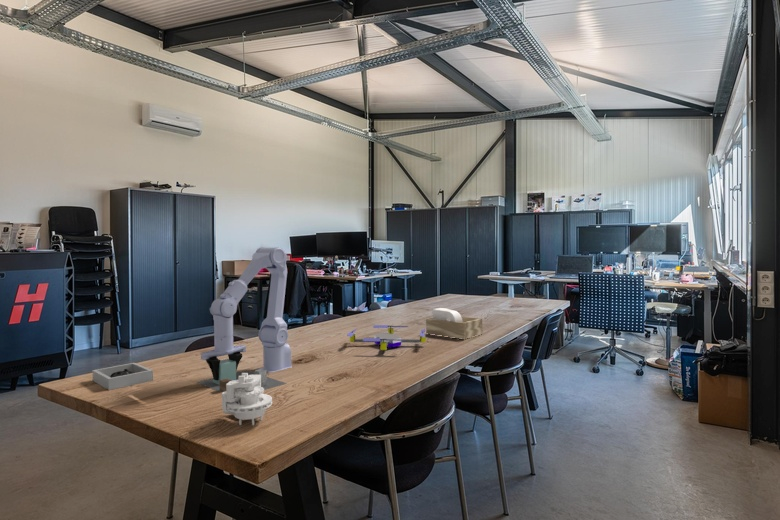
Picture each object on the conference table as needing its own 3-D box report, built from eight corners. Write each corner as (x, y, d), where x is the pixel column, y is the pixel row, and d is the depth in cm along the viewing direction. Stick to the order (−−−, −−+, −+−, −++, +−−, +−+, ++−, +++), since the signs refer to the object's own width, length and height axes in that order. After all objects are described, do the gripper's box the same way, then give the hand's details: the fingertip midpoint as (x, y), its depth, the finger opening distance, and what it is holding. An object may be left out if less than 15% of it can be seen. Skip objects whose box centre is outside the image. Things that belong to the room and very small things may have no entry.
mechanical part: (253, 432, 106) (252, 383, 105) (213, 425, 110) (212, 378, 110) (281, 415, 116) (281, 370, 116) (244, 410, 120) (243, 366, 120)
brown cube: (227, 388, 138) (227, 378, 138) (231, 389, 136) (231, 380, 136) (219, 390, 136) (219, 380, 136) (223, 391, 134) (223, 382, 134)
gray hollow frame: (135, 372, 159) (134, 362, 159) (153, 380, 149) (152, 370, 149) (92, 380, 149) (92, 370, 149) (109, 390, 139) (108, 379, 139)
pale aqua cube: (228, 378, 148) (227, 358, 148) (236, 381, 145) (235, 361, 144) (213, 382, 144) (212, 362, 144) (221, 385, 141) (220, 364, 141)
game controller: (109, 376, 152) (123, 362, 154) (122, 386, 154) (136, 372, 155) (103, 384, 143) (118, 369, 145) (117, 394, 145) (131, 379, 146)
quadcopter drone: (357, 334, 217) (357, 324, 216) (426, 335, 213) (426, 325, 213) (342, 350, 183) (342, 338, 183) (424, 352, 180) (424, 339, 179)
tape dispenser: (432, 333, 226) (432, 309, 225) (447, 331, 232) (447, 307, 232) (455, 338, 213) (455, 312, 213) (470, 335, 220) (470, 310, 219)
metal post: (262, 384, 141) (261, 368, 141) (266, 385, 140) (266, 370, 140) (254, 386, 140) (254, 370, 139) (259, 387, 138) (259, 371, 138)
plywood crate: (445, 329, 236) (445, 314, 236) (482, 334, 222) (482, 318, 221) (426, 334, 223) (426, 318, 223) (464, 340, 209) (464, 323, 209)
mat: (246, 372, 158) (246, 370, 158) (287, 385, 142) (287, 383, 142) (196, 384, 145) (196, 382, 145) (235, 399, 129) (235, 397, 129)
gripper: (208, 341, 136) (209, 385, 136) (250, 333, 147) (251, 374, 147) (197, 338, 141) (198, 381, 141) (239, 331, 152) (240, 371, 152)
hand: (224, 377), depth 144 cm, fingers closed on pale aqua cube, 5 cm apart
